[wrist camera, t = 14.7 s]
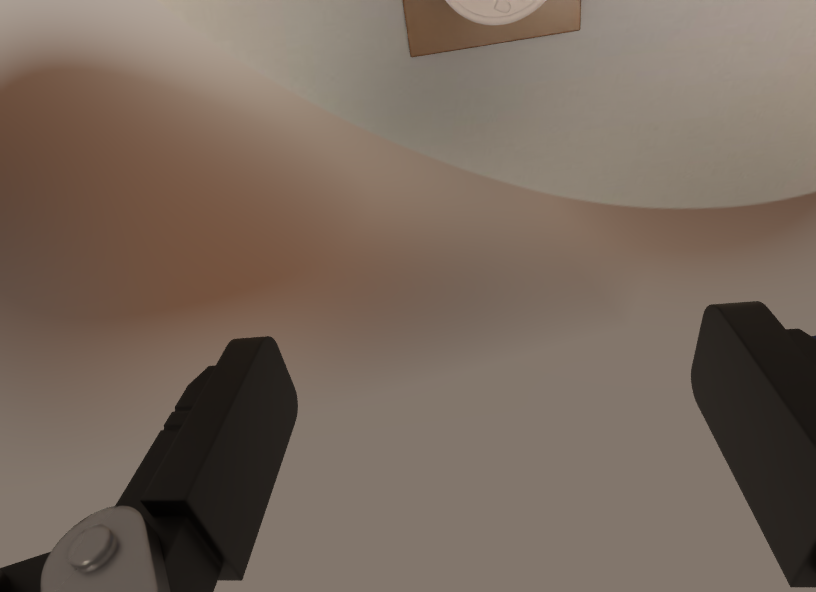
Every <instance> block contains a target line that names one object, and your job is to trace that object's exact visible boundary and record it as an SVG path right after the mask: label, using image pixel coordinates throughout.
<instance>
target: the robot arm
mask: <svg viewBox="0 0 816 592" xmlns="http://www.w3.org/2000/svg"><path fill="white" fill-rule="evenodd" d="M691 383H692V389H693V393H694V397H695V400H696V402H697V404H698V407H699V408H700V410H701V413H702V414H703V416H704V418H705V420H706V422H707V424H708V426H709V428H710V430H711V432H712V434H713V436H714V438H715V440H716V442H717V444H718V446H719V448H720V450H721V452H722V454H723V456H724V458H725V460H726V461H727V463H728V465H729V467H730V469H731V471H732V473H733V475H734V477H735V479H736V481H737V483H738V485H739V487H740V489H741V491H742V493H743V495H744V497H745V499H746V501H747V503H748V504H749V506H750V508H751V510H752V512H753V514H754V516H755V518H756V520H757V522H758V524H759V526H760V528H761V530H762V532H763V534H764V536H765V538H766V540H767V542H768V544H769V546H770V548H771V550H772V552H773V554H774V556H775V557H776V559H777V561H778V563H779V565H780V567H781V569H782V571H783V573H784V575H785V577H786V579H787V581H788V583H789V585H790V587H816V339H815V338H813V337H812V336H810V335H808V334H807V333H805V332H803V331H802V330H800V329H785V328H784V327H783V326H782V324H781V323H780V322H779V321H778V320H777V318H776V317H775V316H774V315H773V314H772V312H771V311H770V310H769V309H768V308H767V307H766V306H765V305H764V304H763V303H761V302H759V301H756V302H755V301H753V302H740V303H726V304H713V305H709V306H708V307H707V308H706V309H705V311H704V314H703V319H702V323H701V327H700V332H699V337H698V341H697V346H696V351H695V355H694V360H693V364H692V369H691ZM297 402H298V401H297V394H296V390H295V387H294V385H293V382H292V380H291V377H290V375H289V373H288V370H287V368H286V365H285V363H284V360H283V358H282V356H281V353H280V350H279V348H278V345H277V343H276V341H275V340H274V339H273V338H272V337H269V336H267V337H254V338H241V339H233V340H231V341H230V342H229V344H228V345H227V347H226V349H225V351H224V352H223V354H222V356H221V357H220V359H219V361H218V363H217V365H216V366H208V367H207V369H205V370H204V371H203V372H202V373H201V374H200V375H199V376H198V377H197V378H196V379H194V380H193V381H192V382H191V383H190V384H189V385H188V386H187V388H186V390H185V391H184V393H183V395H182V396H181V398H180V400H179V401H178V403H177V405H176V406H175V412H172V413H171V415H170V416H169V418H168V419H167V421H166V423H165V424H164V430H162V431H160V433H159V435H158V436H157V438H156V439H155V441H154V443H153V444H152V446H151V448H150V449H149V451H148V453H147V454H146V456H145V458H144V459H143V461H142V463H141V464H140V466H139V468H138V469H137V471H136V473H135V474H134V476H133V478H132V479H131V481H130V483H129V484H128V486H127V488H126V489H125V491H124V492H123V494H122V496H121V498H120V499H119V501H118V502H117V504H116V505H115V506H114V507H109V508H106V509H103V510H100V511H98V512H96V513H94V514H91V515H90V516H88V517H87V518H85V519H83V520H82V521H80V522H79V523H78V524H77V525H75V526H74V527H73V528H71V530H69V531H68V532H67V533H66V534H65V535H64V536H63V537H62V538H61V539H60V540H59V542H58V543H57V544H56V546H55V547H54V548H53V550H52V551H51V552H49V553H46V554H43V555H40V556H37V557H34V558H30V559H27V560H24V561H21V562H18V563H15V564H12V565H9V566H6V567H3V568H0V592H213V591H214V588H215V586H216V583H217V580H242V579H243V576H244V573H245V570H246V567H247V564H248V561H249V558H250V555H251V552H252V549H253V546H254V543H255V540H256V537H257V534H258V532H259V528H260V525H261V523H262V519H263V516H264V514H265V511H266V508H267V505H268V502H269V499H270V496H271V493H272V489H273V487H274V483H275V481H276V478H277V475H278V472H279V469H280V466H281V463H282V460H283V457H284V454H285V451H286V448H287V445H288V442H289V439H290V436H291V433H292V430H293V427H294V424H295V421H296V417H297V410H298V403H297Z"/></svg>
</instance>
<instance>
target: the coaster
mask: <svg viewBox="0 0 816 592" xmlns="http://www.w3.org/2000/svg"><path fill="white" fill-rule="evenodd" d="M403 6H404V13H405V20H406V27H407V34H408V41H409V48H410V55H411V57H417V56H423V55H429V54H435V53H442V52H448V51H454V50H460V49H466V48H473V47H479V46H485V45H491V44H497V43H504V42H510V41H516V40H522V39H528V38H535V37H541V36H547V35H553V34H559V33H565V32H572V31H578V30H580V19H581V0H546V1H545V2H544V3H543V4H542V5H541V6H540V7H539V8H538V9H536V10H535V11H534V12H532V13H531V14H530V15H528V16H526V17H524V18H522V19H520V20H518V21H515V22H512V23H509V24H504V25H484V24H479V23H476V22H473V21H470V20H468V19H466V18H465V17H463V16H461V15H460V14H458V13H457V12H456V11H455V10H454V9H453V8H452V7H451V6H450V5H449V4H448V3H447V2H446V1H445V0H403Z"/></svg>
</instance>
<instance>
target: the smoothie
mask: <svg viewBox="0 0 816 592" xmlns="http://www.w3.org/2000/svg"><path fill="white" fill-rule="evenodd" d="M445 1H446V2H447V3H448V4H449V5H450V6H451V7H452V8H453V9H454V10H455V11H456V12H457V13H458V14H460V15H461V16H463V17H465V18H466V19H468V20H470V21H473V22H476V23H479V24H484V25H504V24H509V23H512V22H515V21H518V20H520V19H522V18H524V17H526V16H528V15H530V14H531V13H532V12H534V11H535V10H536V9H538V8H539V7H540V6H541V5H542V4H543V3H544V2H545V1H546V0H445Z"/></svg>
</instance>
